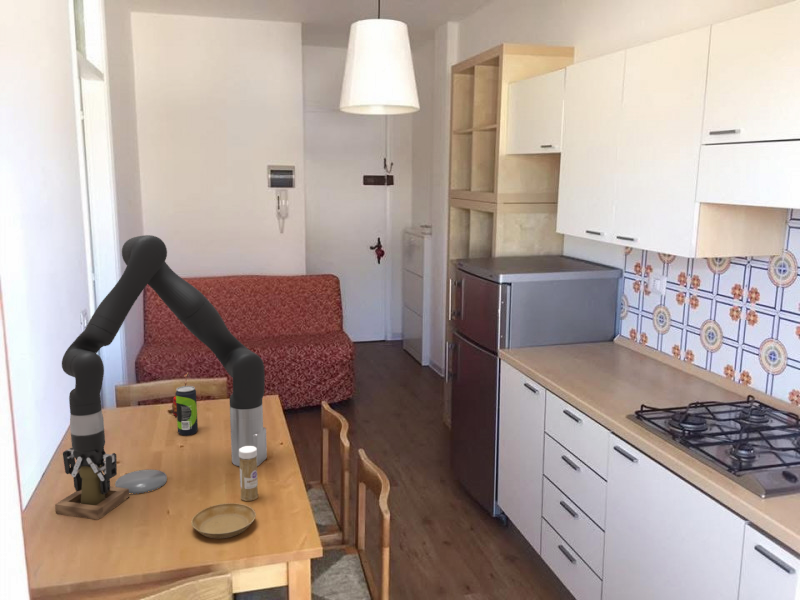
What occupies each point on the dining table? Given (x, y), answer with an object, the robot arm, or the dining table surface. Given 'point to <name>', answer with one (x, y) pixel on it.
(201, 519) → the plant saucer
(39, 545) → the dining table surface
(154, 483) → the slate coaster
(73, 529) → the dining table surface
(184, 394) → the beverage can
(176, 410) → the red clay folk toy
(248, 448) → the sprinkles bottle
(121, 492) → the holder board
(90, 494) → the cork
